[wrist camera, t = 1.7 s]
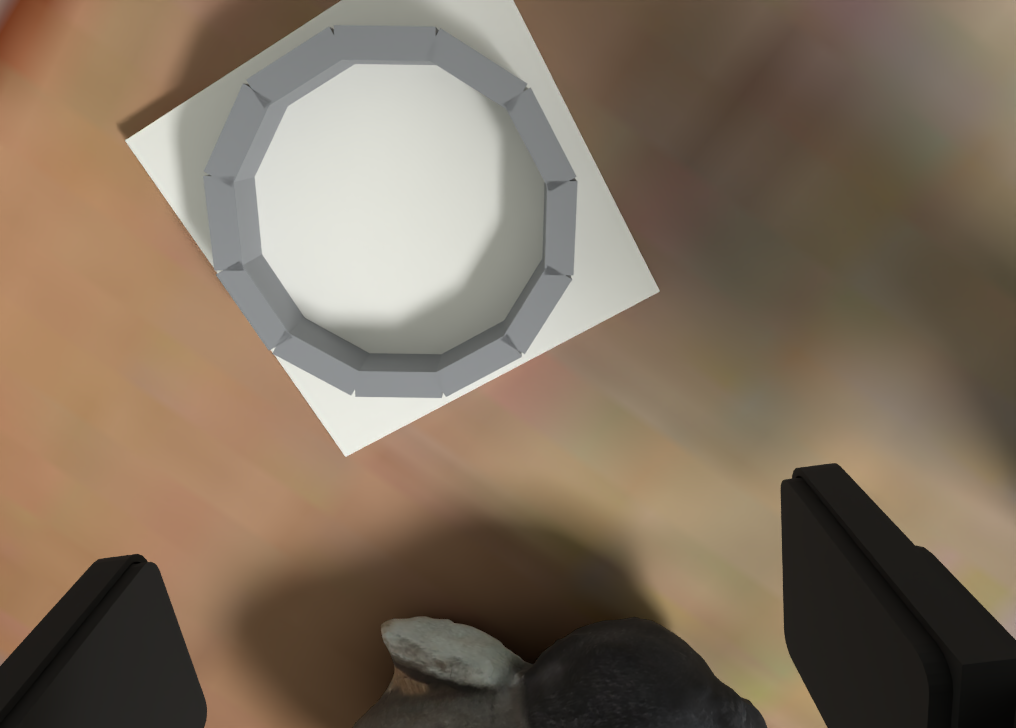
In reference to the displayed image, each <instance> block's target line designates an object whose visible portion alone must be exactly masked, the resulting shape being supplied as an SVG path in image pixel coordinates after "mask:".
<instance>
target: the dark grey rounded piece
mask: <svg viewBox="0 0 1016 728" xmlns="http://www.w3.org/2000/svg"><path fill="white" fill-rule="evenodd" d="M381 633H382V637H383V641H384V643H385V645H386V646H387V648H388V650H389V652H390V655H391V657H392V660H393V663H394V670H395V671H394V675H393V679H392V681H391V683H390V684H389V686H388V688H387V690H386V691H385V692H384V694H383V695H382V697H381V698H380V699H379V700H378V702H377V703H376V704H375V705H374V706H372V707H371V708H370V709H369V710H368V711H367V712H366V713H365V714H364V715H363V716H362V717H361V718H360V719H359V720H358V721H357V722H356V723H355V724H354V726H353V728H767V725H766V723H765V721H764V718H763V717H762V715H761V713H760V712H759V711H758V710H757V709H756V708H755V707H754V706H753V705H752V703H751V702H750V700H747V699H744V698H741V697H740V696H739V695H738V694H737V693H736V692H735V691H734V690H733V689H731V688H730V687H728V686H727V685H725V684H724V683H722V682H721V681H720V680H719V679H718V678H717V677H716V676H715V675H714V674H713V672H712V671H711V669H710V668H709V666H708V665H707V663H706V662H705V660H704V659H703V658H702V657H701V656H700V655H699V654H698V653H697V652H695V651H694V650H693V649H692V648H691V647H690V646H689V645H688V644H687V643H686V642H685V641H684V640H682V639H681V638H680V637H678V636H677V635H676V634H674V633H672V632H671V631H669V630H668V629H666V628H664V627H663V626H661V625H659V624H657V623H655V622H653V621H650V620H646V619H639V618H637V617H633V618H627V619H621V620H606V621H601V622H597V623H593V624H590V625H587V626H584V627H581V628H579V629H576V630H575V631H573V632H572V633H570V634H569V635H567V636H566V637H564V638H562V639H559V640H557V641H556V642H555V643H554V645H552V646H550V647H549V648H547V649H546V650H545V651H543V652H542V653H541V655H540V656H539V657H538V659H537V660H536V662H535V663H534V664H531V663H527V662H525V661H523V660H522V659H521V658H520V657H519V656H517V655H516V654H514V653H513V652H512V651H510V650H509V649H507V648H505V647H504V645H503V644H502V643H501V642H500V641H499V640H497V639H495V638H493V637H492V636H490V635H488V634H486V633H485V632H483V631H481V630H478V629H476V628H474V627H472V626H468V625H464V624H457V623H453V622H452V621H451V620H449V619H433V618H429V617H426V616H419V617H413V618H409V619H391V620H388V621H385V622H384V623H383V624H381Z"/></svg>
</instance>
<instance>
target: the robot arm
mask: <svg viewBox="0 0 1016 728" xmlns="http://www.w3.org/2000/svg"><path fill="white" fill-rule="evenodd" d="M781 522H782V563H783V603H784V634H785V640H786V644H787V648H788V651H789V654H790V656H791V659H792V661H793V662H794V664H795V666H796V668H797V670H798V672H799V674H800V676H801V678H802V680H803V682H804V683H805V685H806V687H807V689H808V691H809V693H810V695H811V697H812V699H813V701H814V703H815V704H816V706H817V708H818V710H819V712H820V714H821V716H822V718H823V720H824V722H825V724H826V725H827V727H828V728H1016V640H1015V639H1014V638H1013V637H1012V636H1011V635H1010V634H1009V633H1008V632H1007V631H1006V630H1005V628H1004V627H1003V626H1002V625H1001V624H1000V623H999V622H998V621H997V620H996V619H995V618H994V617H993V616H992V615H991V614H990V613H989V612H988V611H987V610H986V609H985V608H984V607H983V606H982V605H981V604H980V603H979V602H978V601H977V599H976V598H975V597H974V596H973V595H972V594H971V593H970V592H969V591H968V590H967V589H966V588H965V587H964V586H963V585H962V584H961V583H960V582H959V581H958V580H957V579H956V578H955V577H954V576H953V575H952V574H951V573H950V572H949V570H948V569H947V568H946V567H945V566H944V565H943V564H942V563H941V562H940V561H939V560H938V559H937V558H936V557H935V556H934V555H933V554H932V553H931V552H929V551H928V550H927V549H926V548H924V547H920V546H915V545H914V544H913V543H912V542H911V541H910V540H909V539H908V537H907V536H906V535H905V534H904V533H903V532H902V531H901V530H900V529H899V528H898V527H897V526H896V525H895V524H894V523H893V522H892V521H891V519H890V518H889V517H888V516H887V515H886V514H885V513H884V512H883V511H882V510H881V509H880V508H879V507H878V506H877V505H876V504H875V503H874V501H873V500H872V499H871V498H870V497H869V496H868V495H867V494H866V493H865V492H864V491H863V490H862V489H861V488H860V487H859V486H858V485H857V483H856V482H855V481H854V480H853V479H852V478H851V477H850V476H849V475H848V474H847V473H846V472H845V471H844V470H843V469H842V468H841V467H840V466H839V465H838V464H836V463H832V464H824V465H816V466H809V467H801V468H796V469H795V470H794V471H793V475H792V479H786V480H783V481H782V484H781ZM206 717H207V705H206V701H205V697H204V695H203V692H202V689H201V686H200V683H199V681H198V678H197V675H196V672H195V669H194V666H193V664H192V661H191V658H190V655H189V652H188V649H187V647H186V644H185V641H184V638H183V635H182V633H181V630H180V627H179V624H178V621H177V618H176V616H175V613H174V610H173V607H172V604H171V601H170V599H169V596H168V593H167V590H166V587H165V584H164V582H163V579H162V576H161V573H160V571H159V569H158V567H157V565H156V564H155V563H152V562H147V560H146V559H145V558H144V557H143V556H142V555H139V554H133V555H126V556H118V557H110V558H103V559H98V560H97V561H96V562H94V563H93V564H92V565H91V566H90V567H89V569H88V570H87V571H86V572H85V573H84V574H83V575H82V576H81V577H80V578H79V580H78V581H77V582H76V583H75V584H74V585H73V586H72V587H71V588H70V590H69V591H68V592H67V593H66V594H65V595H64V596H63V597H62V598H61V600H60V601H59V602H58V603H57V604H56V605H55V606H54V607H53V608H52V609H51V611H50V612H49V613H48V614H47V615H46V616H45V617H44V618H43V619H42V621H41V622H40V623H39V624H38V625H37V626H36V627H35V628H34V629H33V630H32V632H31V633H30V634H29V635H28V636H27V637H26V638H25V639H24V640H23V642H22V643H21V644H20V645H19V646H18V647H17V648H16V649H15V650H14V652H13V653H12V654H11V655H10V656H9V657H8V658H7V659H6V660H5V661H4V663H3V664H2V665H1V666H0V728H204V726H205V723H206Z"/></svg>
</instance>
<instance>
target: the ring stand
mask: <svg viewBox="0 0 1016 728" xmlns="http://www.w3.org/2000/svg"><path fill="white" fill-rule="evenodd" d="M125 141H126V143H127V144H128V145H129V147H130V148H131V150H132V151H133V153H134V154H135V155H136V157H137V158H138V160H139V161H140V163H141V164H142V165H143V167H144V168H145V170H146V171H147V173H148V174H149V176H150V177H151V178H152V180H153V181H154V183H155V184H156V186H157V187H158V188H159V190H160V191H161V193H162V194H163V196H164V197H165V198H166V200H167V201H168V203H169V204H170V206H171V207H172V209H173V210H174V211H175V213H176V214H177V216H178V217H179V219H180V220H181V221H182V223H183V224H184V226H185V227H186V229H187V230H188V231H189V233H190V234H191V236H192V237H193V239H194V240H195V242H196V243H197V244H198V246H199V247H200V249H201V250H202V252H203V253H204V254H205V256H206V257H207V259H208V260H209V262H210V263H211V264H212V266H213V267H214V270H216V272H217V273H218V274H216V275H217V277H218V278H219V280H220V281H221V283H222V284H223V286H224V287H225V288H226V290H227V291H228V293H229V294H230V296H231V297H232V298H233V300H234V301H235V303H236V304H237V306H238V307H239V308H240V310H241V311H242V313H243V314H244V316H245V317H246V318H247V320H248V321H249V323H250V324H251V326H252V327H253V328H254V330H255V331H256V333H257V334H258V336H259V337H260V339H261V340H262V341H263V343H264V344H265V346H266V347H267V349H268V350H271V351H272V352H273V353H272V354H274V355H275V356H276V358H277V359H278V361H279V362H280V363H281V365H282V366H283V368H284V369H285V371H286V372H287V373H288V375H289V376H290V378H291V379H292V381H293V382H294V384H295V385H296V386H297V388H298V389H299V391H300V392H301V394H302V395H303V396H304V398H305V399H306V401H307V402H308V404H309V405H310V406H311V408H312V409H313V411H314V412H315V414H316V415H317V417H318V418H319V419H320V421H321V422H322V424H323V425H324V427H325V428H326V429H327V431H328V432H329V434H330V435H331V437H332V438H333V439H334V441H335V442H336V444H337V445H338V447H339V448H340V450H341V451H342V452H343V454H344V455H345V457H346V456H348V455H350V454H352V453H354V452H356V451H358V450H359V449H361V448H363V447H365V446H367V445H369V444H371V443H373V442H375V441H377V440H378V439H380V438H382V437H384V436H386V435H388V434H390V433H392V432H394V431H396V430H397V429H399V428H401V427H403V426H405V425H407V424H409V423H411V422H413V421H415V420H417V419H418V418H420V417H422V416H424V415H426V414H428V413H430V412H432V411H434V410H436V409H437V408H439V407H441V406H443V405H445V404H447V403H449V402H451V401H453V400H455V399H456V398H458V397H460V396H462V395H464V394H466V393H468V392H470V391H472V390H474V389H475V388H477V387H479V386H481V385H483V384H485V383H487V382H489V381H491V380H493V379H494V378H496V377H498V376H500V375H502V374H504V373H506V372H508V371H510V370H512V369H513V368H515V367H517V366H519V365H521V364H523V363H525V362H527V361H529V360H531V359H532V358H534V357H536V356H538V355H540V354H542V353H544V352H546V351H548V350H550V349H551V348H553V347H555V346H557V345H559V344H561V343H563V342H565V341H567V340H569V339H571V338H572V337H574V336H576V335H578V334H580V333H582V332H584V331H586V330H588V329H590V328H591V327H593V326H595V325H597V324H599V323H601V322H603V321H605V320H607V319H609V318H610V317H612V316H614V315H616V314H618V313H620V312H622V311H624V310H626V309H628V308H629V307H631V306H633V305H635V304H637V303H639V302H641V301H643V300H645V299H647V298H648V297H650V296H652V295H654V294H656V293H658V292H660V290H659V288H658V286H657V285H656V283H655V281H654V279H653V277H652V275H651V273H650V271H649V269H648V267H647V265H646V263H645V261H644V259H643V257H642V255H641V253H640V251H639V249H638V247H637V245H636V243H635V241H634V239H633V237H632V235H631V233H630V231H629V229H628V227H627V225H626V223H625V221H624V219H623V217H622V215H621V213H620V211H619V209H618V207H617V205H616V203H615V201H614V199H613V197H612V195H611V193H610V191H609V189H608V187H607V185H606V183H605V181H604V179H603V177H602V175H601V173H600V171H599V169H598V167H597V165H596V163H595V161H594V159H593V157H592V155H591V153H590V151H589V149H588V147H587V146H586V144H585V142H584V140H583V138H582V136H581V134H580V132H579V130H578V128H577V126H576V124H575V122H574V120H573V118H572V116H571V114H570V112H569V110H568V108H567V106H566V104H565V102H564V100H563V98H562V96H561V94H560V92H559V90H558V88H557V86H556V84H555V82H554V80H553V78H552V76H551V74H550V72H549V70H548V68H547V66H546V64H545V62H544V60H543V58H542V56H541V54H540V52H539V50H538V48H537V46H536V44H535V42H534V40H533V38H532V36H531V34H530V32H529V30H528V28H527V26H526V24H525V22H524V20H523V18H522V16H521V14H520V12H519V10H518V8H517V7H516V5H515V3H514V1H513V0H341V1H340V2H338V3H336V4H335V5H333V6H332V7H330V8H329V9H327V10H326V11H324V12H323V13H321V14H319V15H318V16H316V17H315V18H313V19H312V20H310V21H309V22H307V23H306V24H304V25H302V26H301V27H299V28H298V29H296V30H295V31H293V32H292V33H290V34H289V35H287V36H286V37H284V38H282V39H281V40H279V41H278V42H276V43H275V44H273V45H272V46H270V47H269V48H267V49H265V50H264V51H262V52H261V53H259V54H258V55H256V56H255V57H253V58H252V59H250V60H248V61H247V62H245V63H244V64H242V65H241V66H239V67H238V68H236V69H235V70H233V71H231V72H230V73H228V74H227V75H225V76H224V77H222V78H221V79H219V80H218V81H216V82H215V83H213V84H211V85H210V86H208V87H207V88H205V89H204V90H202V91H201V92H199V93H198V94H196V95H194V96H193V97H191V98H190V99H188V100H187V101H185V102H184V103H182V104H181V105H179V106H177V107H176V108H174V109H173V110H171V111H170V112H168V113H167V114H165V115H164V116H162V117H160V118H159V119H157V120H156V121H154V122H153V123H151V124H150V125H148V126H147V127H145V128H144V129H142V130H140V131H139V132H137V133H136V134H134V135H133V136H131V137H130V138H128V139H127V140H125Z"/></svg>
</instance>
